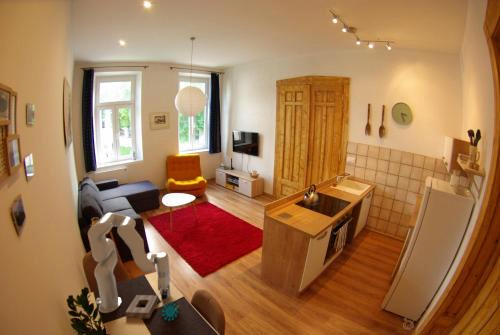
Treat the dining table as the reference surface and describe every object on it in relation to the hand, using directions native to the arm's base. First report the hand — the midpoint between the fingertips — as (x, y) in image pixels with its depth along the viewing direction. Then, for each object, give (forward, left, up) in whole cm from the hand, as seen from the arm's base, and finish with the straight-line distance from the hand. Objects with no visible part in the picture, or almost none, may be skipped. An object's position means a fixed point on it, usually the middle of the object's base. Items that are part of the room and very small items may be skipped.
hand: (165, 295), depth 167 cm
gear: (+9, -15, -2) cm, 17 cm away
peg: (0, 0, -2) cm, 2 cm away
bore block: (-11, -10, -2) cm, 15 cm away
